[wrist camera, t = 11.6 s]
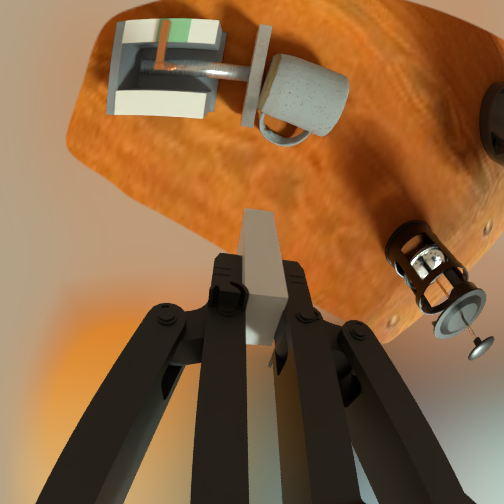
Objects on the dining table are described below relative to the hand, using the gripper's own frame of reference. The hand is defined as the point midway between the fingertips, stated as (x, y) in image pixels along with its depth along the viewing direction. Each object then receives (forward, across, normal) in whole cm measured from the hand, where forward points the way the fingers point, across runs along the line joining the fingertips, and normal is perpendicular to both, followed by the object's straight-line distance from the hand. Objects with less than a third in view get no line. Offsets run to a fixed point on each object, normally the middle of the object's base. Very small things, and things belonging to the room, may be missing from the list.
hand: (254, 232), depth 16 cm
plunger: (+20, +7, -9) cm, 23 cm away
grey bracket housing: (+21, +10, -9) cm, 25 cm away
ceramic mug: (+22, -4, -6) cm, 23 cm away
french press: (+22, -29, +10) cm, 38 cm away
